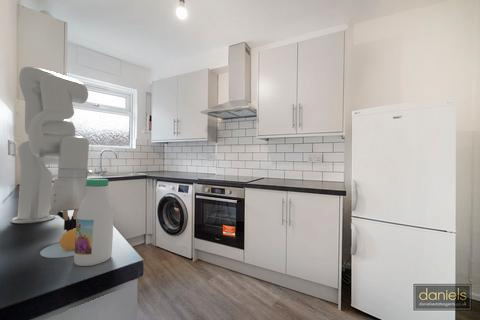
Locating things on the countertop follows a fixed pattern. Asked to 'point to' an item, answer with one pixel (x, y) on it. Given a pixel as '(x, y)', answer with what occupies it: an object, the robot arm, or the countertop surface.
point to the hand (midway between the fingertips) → (69, 231)
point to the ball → (68, 240)
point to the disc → (56, 252)
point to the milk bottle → (94, 225)
